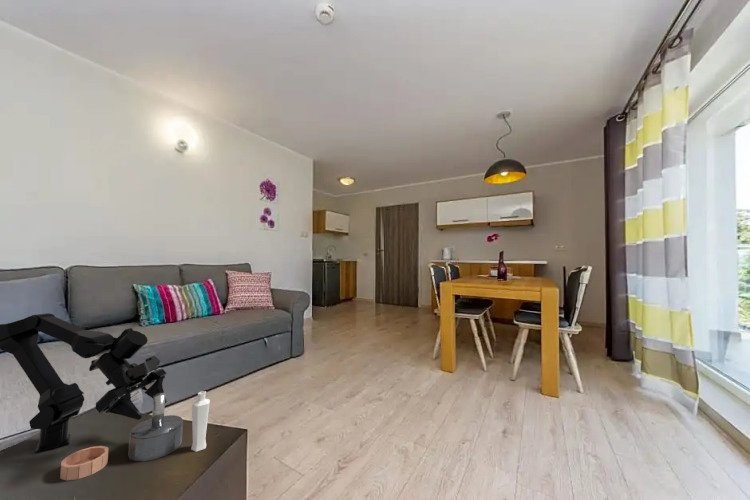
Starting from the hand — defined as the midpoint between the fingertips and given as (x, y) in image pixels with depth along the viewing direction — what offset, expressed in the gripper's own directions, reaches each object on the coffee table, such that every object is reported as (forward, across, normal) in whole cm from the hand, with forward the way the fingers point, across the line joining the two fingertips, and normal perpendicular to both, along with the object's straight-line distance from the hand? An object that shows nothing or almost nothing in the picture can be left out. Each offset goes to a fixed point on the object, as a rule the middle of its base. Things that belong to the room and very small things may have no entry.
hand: (153, 410), depth 86 cm
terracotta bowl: (0, -10, +14) cm, 17 cm away
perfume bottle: (+17, +1, -2) cm, 17 cm away
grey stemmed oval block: (+8, 0, +6) cm, 10 cm away
